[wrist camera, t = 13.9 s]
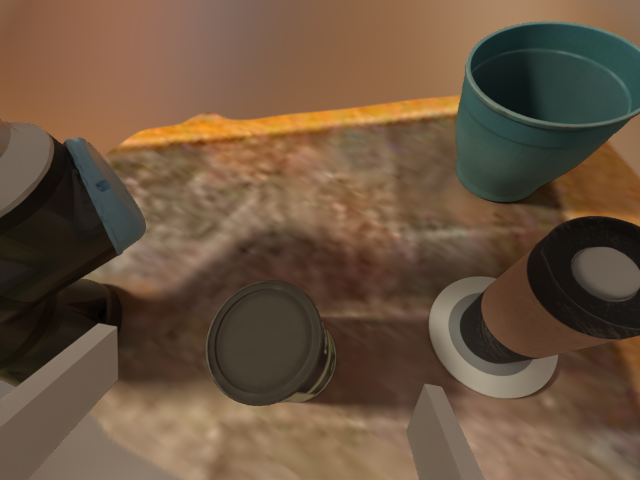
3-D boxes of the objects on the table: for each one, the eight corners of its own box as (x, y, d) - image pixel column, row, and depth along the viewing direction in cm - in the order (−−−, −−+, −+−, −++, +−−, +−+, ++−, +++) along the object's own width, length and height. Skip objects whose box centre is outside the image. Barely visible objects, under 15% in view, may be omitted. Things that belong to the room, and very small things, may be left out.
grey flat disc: (412, 360, 36) (413, 359, 35) (447, 262, 41) (449, 260, 40) (542, 424, 31) (546, 425, 31) (563, 306, 36) (567, 304, 36)
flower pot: (422, 139, 52) (446, 35, 37) (530, 122, 50) (600, 7, 36) (453, 228, 43) (501, 140, 28) (584, 210, 42) (706, 108, 27)
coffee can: (312, 301, 41) (289, 260, 28) (351, 373, 36) (346, 361, 24) (244, 341, 39) (190, 315, 27) (276, 420, 35) (228, 434, 22)
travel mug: (539, 360, 33) (734, 320, 16) (470, 371, 34) (586, 344, 16) (509, 295, 37) (640, 203, 19) (447, 306, 37) (521, 225, 20)
